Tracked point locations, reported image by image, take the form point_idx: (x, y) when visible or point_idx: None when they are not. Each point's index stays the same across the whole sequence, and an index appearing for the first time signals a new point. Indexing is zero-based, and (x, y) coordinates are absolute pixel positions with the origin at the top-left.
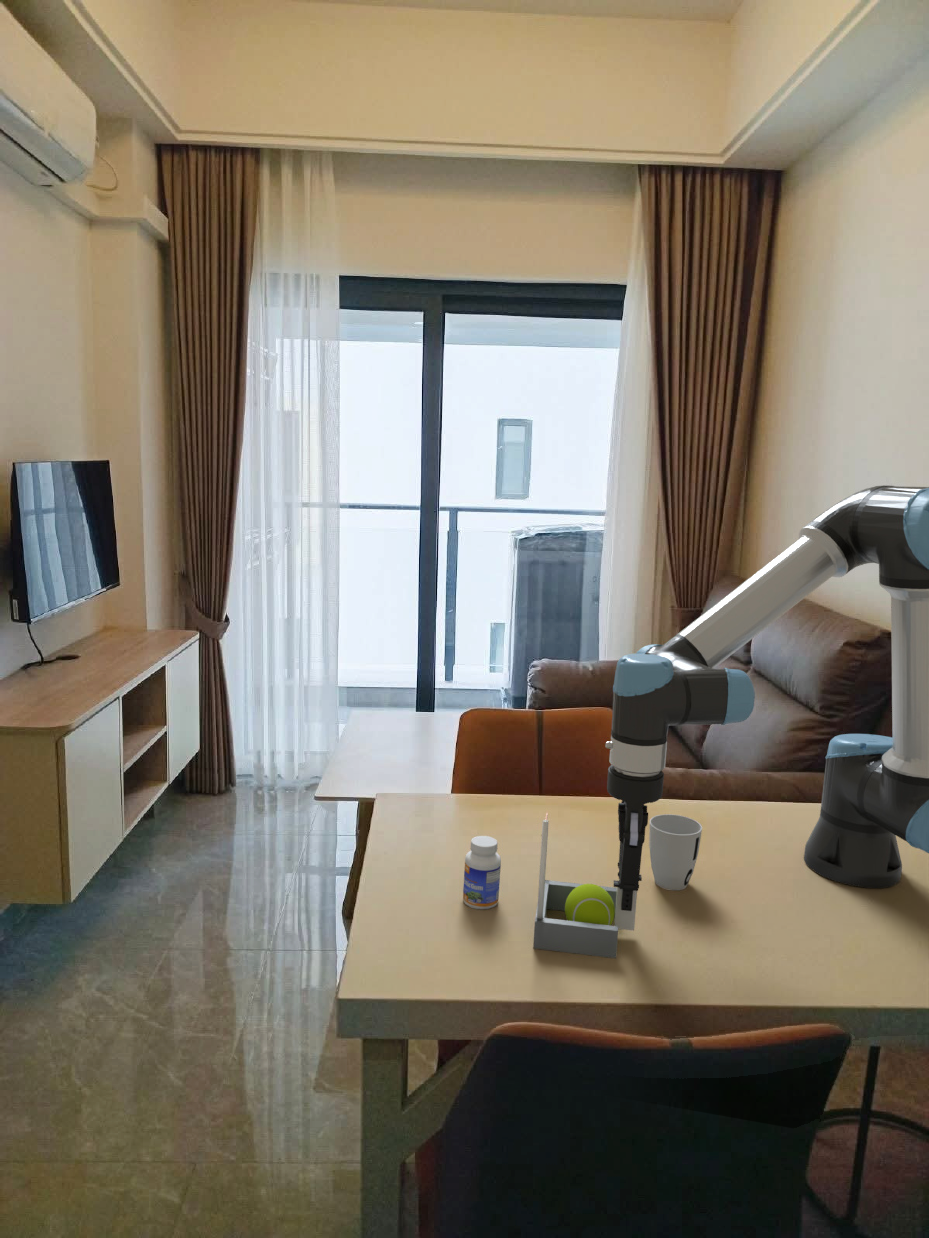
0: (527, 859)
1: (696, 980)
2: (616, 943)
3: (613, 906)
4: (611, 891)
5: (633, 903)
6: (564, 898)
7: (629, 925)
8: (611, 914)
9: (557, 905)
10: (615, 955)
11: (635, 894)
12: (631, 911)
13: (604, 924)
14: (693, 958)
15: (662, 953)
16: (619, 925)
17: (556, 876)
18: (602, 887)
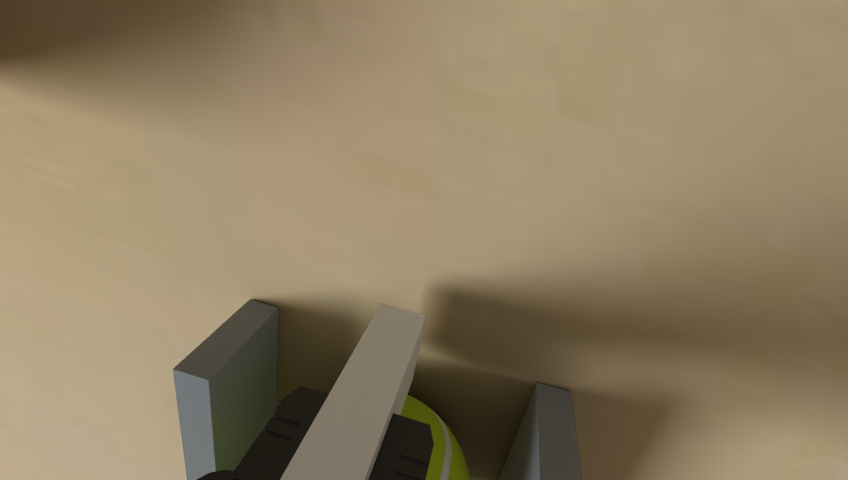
0: (24, 432)
1: (834, 111)
2: (575, 444)
3: None
4: (211, 395)
5: (385, 426)
6: None
7: (417, 345)
8: (431, 475)
9: None
10: (570, 401)
11: (366, 476)
12: (399, 394)
13: (462, 471)
14: (610, 62)
15: (548, 209)
16: (412, 375)
17: (81, 395)
18: (190, 420)
